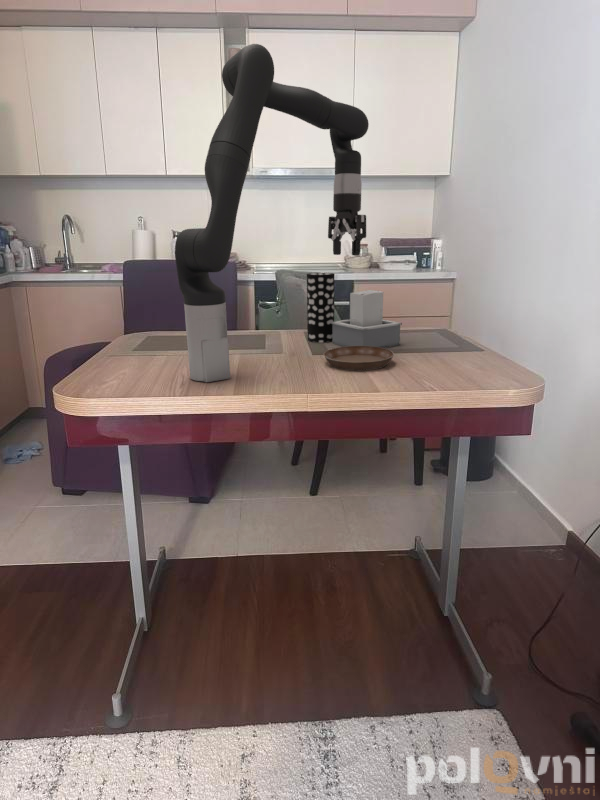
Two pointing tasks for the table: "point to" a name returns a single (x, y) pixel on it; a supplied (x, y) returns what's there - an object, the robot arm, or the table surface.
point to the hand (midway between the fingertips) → (346, 254)
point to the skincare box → (366, 308)
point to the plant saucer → (358, 357)
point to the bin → (366, 334)
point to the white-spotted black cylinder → (320, 306)
